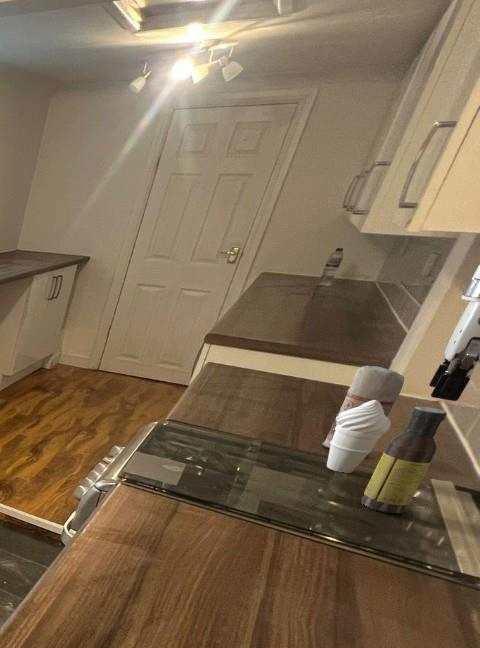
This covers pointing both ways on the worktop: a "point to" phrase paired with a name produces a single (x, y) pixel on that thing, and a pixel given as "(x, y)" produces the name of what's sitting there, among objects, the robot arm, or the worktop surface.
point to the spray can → (370, 391)
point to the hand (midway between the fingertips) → (442, 393)
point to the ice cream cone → (356, 435)
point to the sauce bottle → (404, 463)
